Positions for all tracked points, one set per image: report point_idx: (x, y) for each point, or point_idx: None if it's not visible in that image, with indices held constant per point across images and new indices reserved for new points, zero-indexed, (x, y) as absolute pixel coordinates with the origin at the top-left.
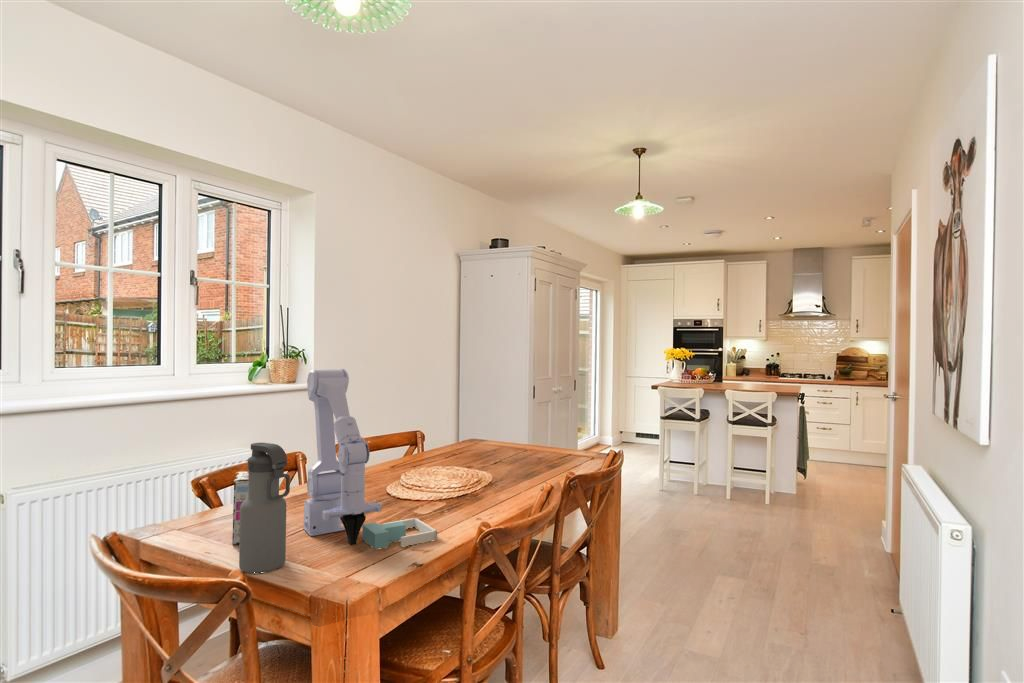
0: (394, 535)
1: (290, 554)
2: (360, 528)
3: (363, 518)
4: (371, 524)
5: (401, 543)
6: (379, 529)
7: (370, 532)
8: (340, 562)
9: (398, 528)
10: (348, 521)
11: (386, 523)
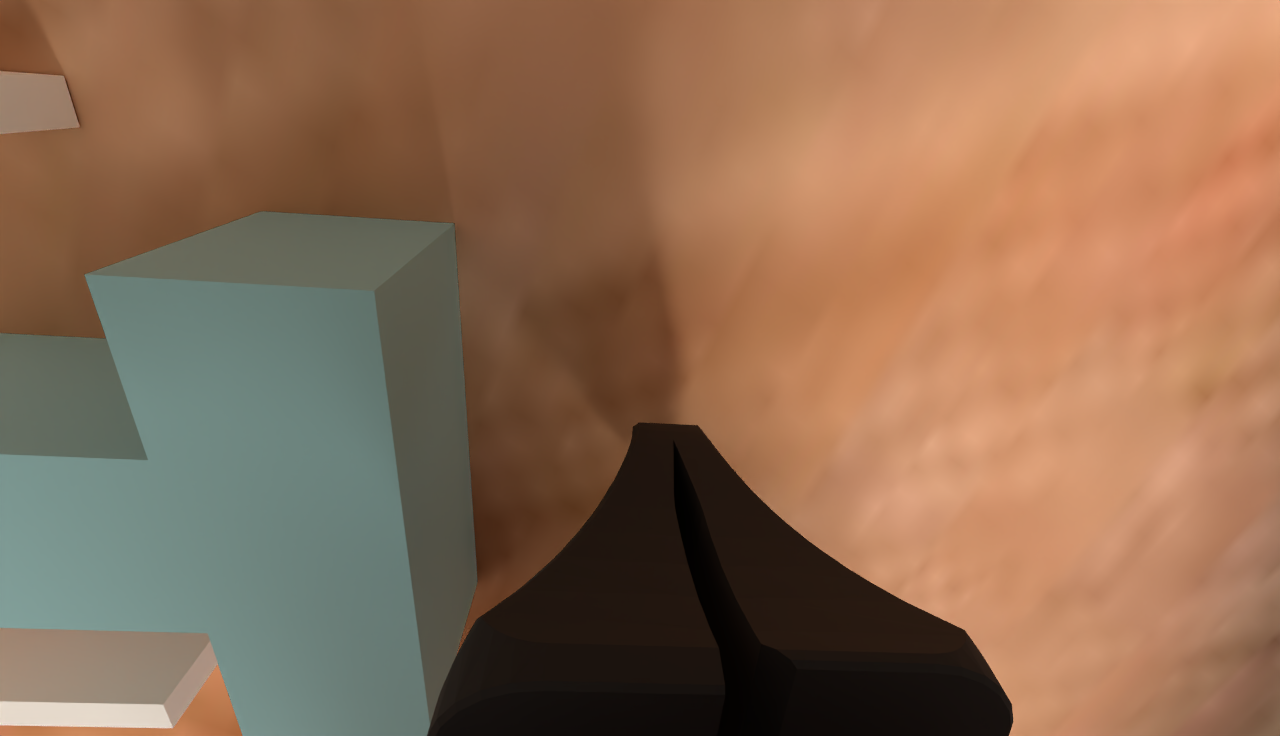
0: (73, 381)
1: (1175, 583)
2: (586, 529)
3: (526, 656)
4: (315, 691)
5: (11, 87)
6: (240, 469)
7: (411, 476)
8: (1009, 78)
9: None
10: (959, 659)
11: (115, 714)
